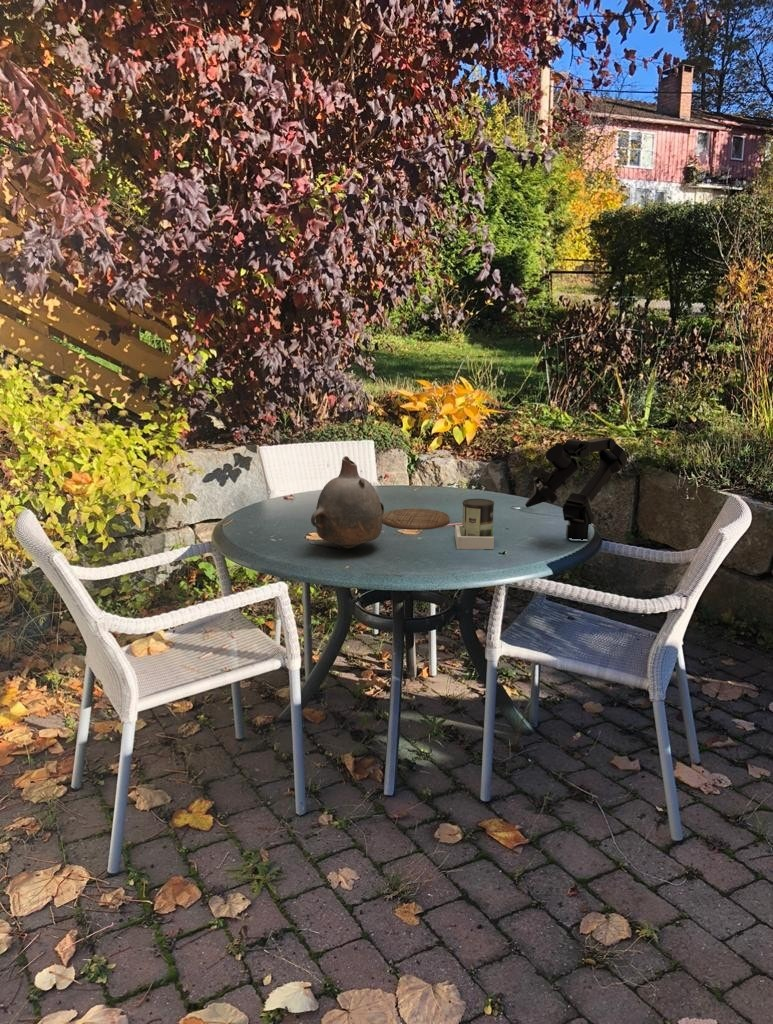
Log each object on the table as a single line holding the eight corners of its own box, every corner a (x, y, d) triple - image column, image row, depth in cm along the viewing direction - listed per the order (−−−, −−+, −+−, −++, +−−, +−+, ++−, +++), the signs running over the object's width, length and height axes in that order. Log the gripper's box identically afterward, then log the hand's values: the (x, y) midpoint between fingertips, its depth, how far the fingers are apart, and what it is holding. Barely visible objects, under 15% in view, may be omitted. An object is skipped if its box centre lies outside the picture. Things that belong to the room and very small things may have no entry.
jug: (358, 563, 242) (357, 466, 235) (300, 553, 252) (298, 460, 245) (396, 544, 263) (397, 454, 255) (341, 535, 273) (340, 448, 265)
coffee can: (491, 538, 269) (492, 498, 266) (494, 547, 259) (495, 505, 256) (460, 538, 269) (461, 498, 266) (462, 547, 259) (463, 505, 256)
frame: (489, 536, 271) (490, 525, 270) (493, 549, 257) (494, 537, 256) (455, 536, 272) (455, 525, 271) (456, 549, 257) (457, 537, 256)
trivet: (444, 532, 278) (444, 527, 278) (375, 528, 283) (375, 523, 282) (453, 515, 302) (453, 510, 301) (389, 511, 307) (389, 507, 306)
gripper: (541, 451, 265) (506, 483, 269) (548, 461, 247) (511, 495, 251) (563, 474, 267) (529, 506, 270) (572, 486, 249) (535, 519, 252)
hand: (526, 506), depth 261 cm, fingers closed
